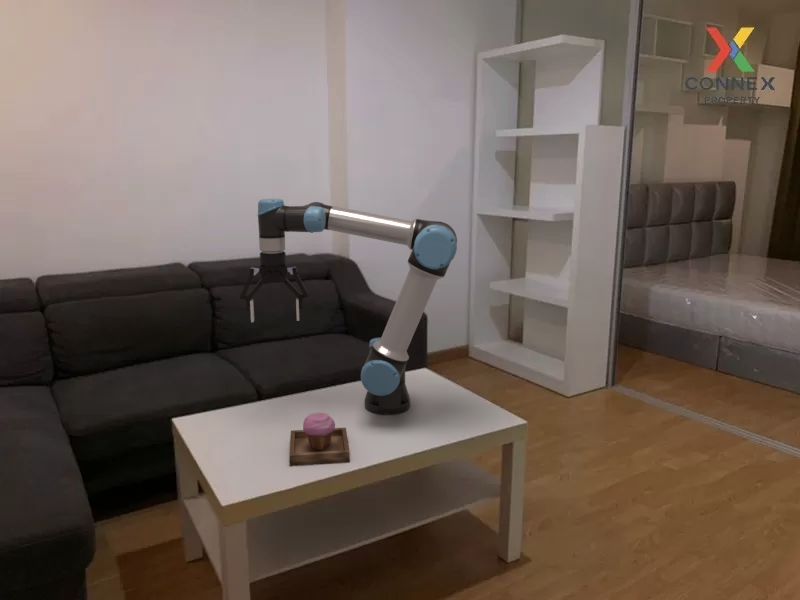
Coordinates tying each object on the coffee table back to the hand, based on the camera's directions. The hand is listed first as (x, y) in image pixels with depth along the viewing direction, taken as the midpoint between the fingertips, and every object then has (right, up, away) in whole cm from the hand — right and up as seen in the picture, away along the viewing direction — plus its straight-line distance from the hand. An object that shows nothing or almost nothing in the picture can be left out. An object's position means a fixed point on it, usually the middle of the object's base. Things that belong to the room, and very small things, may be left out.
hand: (275, 320), depth 196 cm
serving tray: (+15, -36, -15) cm, 42 cm away
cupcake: (+15, -35, -15) cm, 41 cm away
